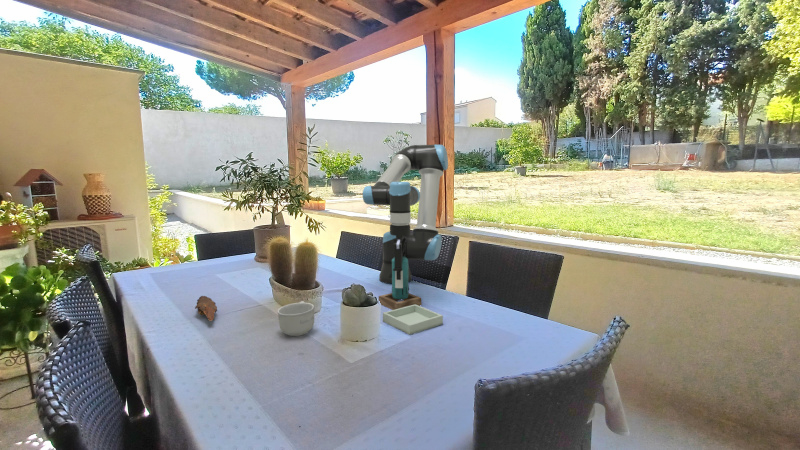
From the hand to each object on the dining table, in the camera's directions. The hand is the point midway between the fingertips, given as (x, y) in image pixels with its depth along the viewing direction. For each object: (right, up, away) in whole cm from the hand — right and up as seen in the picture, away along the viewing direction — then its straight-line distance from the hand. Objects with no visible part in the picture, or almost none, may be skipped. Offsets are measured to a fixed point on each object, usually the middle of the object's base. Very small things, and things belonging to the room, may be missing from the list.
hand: (400, 284), depth 144 cm
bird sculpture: (-67, -9, -12) cm, 68 cm away
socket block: (0, -7, +1) cm, 8 cm away
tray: (+4, -10, -18) cm, 20 cm away
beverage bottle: (0, -6, +1) cm, 6 cm away
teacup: (-32, -11, -24) cm, 41 cm away
